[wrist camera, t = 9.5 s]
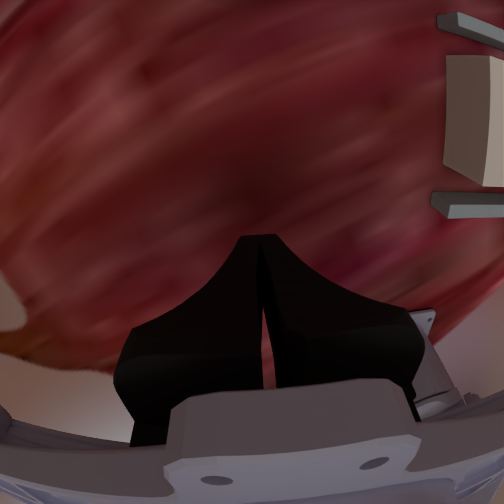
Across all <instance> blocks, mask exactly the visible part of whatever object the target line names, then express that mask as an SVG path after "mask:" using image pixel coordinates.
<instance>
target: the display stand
mask: <svg viewBox="0 0 504 504" xmlns="http://www.w3.org/2000/svg"><path fill="white" fill-rule="evenodd" d="M437 24H438V29H440V30H444V31H447V32H451V33H454V34H458V35H461V36H464V37H467V38H470V39H473V40H476V41H479V42H482V43H484V44H487V45H490V46H492V47H495V48H497V49H500V50H502V51H504V30H502V29H500V28H497V27H495V26H493V25H490V24H488V23H486V22H483V21H481V20H478V19H476V18H473V17H470V16H468V15H465V14H462V13H459V12H454V13H449V14H444V15H439V16H437ZM430 205H432V206H433V207H434V208H435V209H437V210H438V211H439V212H440V213H442V214H443V215H444V216H445V217H447V218H484V217H504V194H500V193H472V192H432V197H431V204H430Z"/></svg>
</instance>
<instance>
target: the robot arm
mask: <svg viewBox="0 0 504 504" xmlns="http://www.w3.org/2000/svg"><path fill="white" fill-rule="evenodd" d="M263 308H264V313H265V318H266V323H267V328H268V332H269V337H270V342H271V347H272V352H273V358H274V366H275V377H276V388H273V389H264V388H263V372H262V356H261V341H262V314H263ZM435 314H436V313H435V311H434V310H433V309H429V310H423V311H416V312H410V313H408V312H407V310H406V309H405V308H402V307H398V306H394V305H390V304H386V303H382V302H378V301H375V300H372V299H369V298H367V297H364V296H361V295H359V294H356V293H354V292H351V291H349V290H347V289H345V288H343V287H341V286H339V285H337V284H335V283H333V282H331V281H330V280H328V279H326V278H325V277H323V276H322V275H320V274H319V273H317V272H316V271H314V270H313V269H311V268H310V267H309V266H308V265H306V264H305V263H304V262H303V261H302V260H300V259H299V258H298V257H297V256H296V255H295V254H294V253H293V252H292V251H291V250H290V249H289V248H288V247H287V246H286V245H285V243H284V242H283V241H282V240H281V239H280V238H279V237H278V236H277V235H276V234H264V235H249V236H241V237H240V238H239V239H238V241H237V243H236V245H235V247H234V249H233V250H232V252H231V254H230V255H229V257H228V258H227V259H226V261H225V262H224V264H223V265H222V266H221V268H220V269H219V270H218V271H217V272H216V274H215V275H214V276H213V277H212V278H211V279H210V280H209V282H208V283H207V284H206V285H205V286H203V287H202V288H201V289H200V290H199V291H198V292H196V293H195V294H194V295H192V296H191V297H190V298H188V299H187V300H186V301H184V302H183V303H182V304H180V305H178V306H177V307H175V308H174V309H172V310H170V311H168V312H167V313H165V314H163V315H161V316H159V317H157V318H155V319H153V320H151V321H149V322H146V323H144V324H142V325H140V326H138V327H135V328H132V330H131V332H130V334H129V336H128V338H127V340H126V342H125V344H124V346H123V349H122V351H121V354H120V357H119V360H118V363H117V366H116V369H115V372H114V377H113V384H114V387H115V389H116V392H117V394H118V395H119V397H120V399H121V400H122V402H123V404H124V405H125V407H126V409H127V410H128V412H129V413H130V415H131V416H132V418H133V420H134V421H135V422H134V426H133V431H132V436H131V440H130V443H126V442H118V441H111V440H103V439H98V438H92V437H86V436H81V435H75V434H70V433H66V432H61V431H57V430H52V429H47V428H44V427H40V426H36V425H32V424H29V423H25V422H21V421H18V420H14V419H12V417H11V416H10V414H9V413H8V412H7V411H6V410H5V409H4V408H3V407H2V406H1V405H0V491H1V492H3V493H5V494H7V495H9V496H11V497H13V498H15V499H17V500H19V501H22V502H24V503H26V504H490V502H491V501H492V499H493V498H494V496H495V495H496V493H497V491H498V490H499V488H500V486H501V485H502V483H503V482H504V390H502V391H500V392H497V393H495V394H493V395H490V396H488V397H485V398H483V399H481V398H480V397H479V396H478V395H477V394H471V393H470V392H469V393H467V394H465V395H464V399H465V401H466V403H467V405H465V403H464V401H463V399H462V397H461V395H460V393H459V391H458V389H457V388H455V386H454V384H453V383H452V380H451V378H450V377H449V375H448V373H447V371H446V369H445V367H444V365H443V364H442V362H441V360H440V358H439V356H438V354H437V353H436V351H435V349H434V347H433V346H432V344H431V342H430V340H429V339H428V337H427V336H428V334H429V331H430V328H431V326H432V323H433V320H434V317H435Z"/></svg>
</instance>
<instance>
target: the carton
mask: <svg viewBox="0 0 504 504" xmlns="http://www.w3.org/2000/svg"><path fill="white" fill-rule="evenodd" d="M446 74H447V105H446V131H445V146H444V158H443V164H444V165H446V166H448V167H449V168H451V169H453V170H455V171H457V172H459V173H460V174H462V175H464V176H466V177H468V178H469V179H471V180H473V181H475V182H476V183H478V184H480V185H481V186H493V187H504V61H503V60H500V59H497V58H495V57H492V56H482V55H446Z"/></svg>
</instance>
